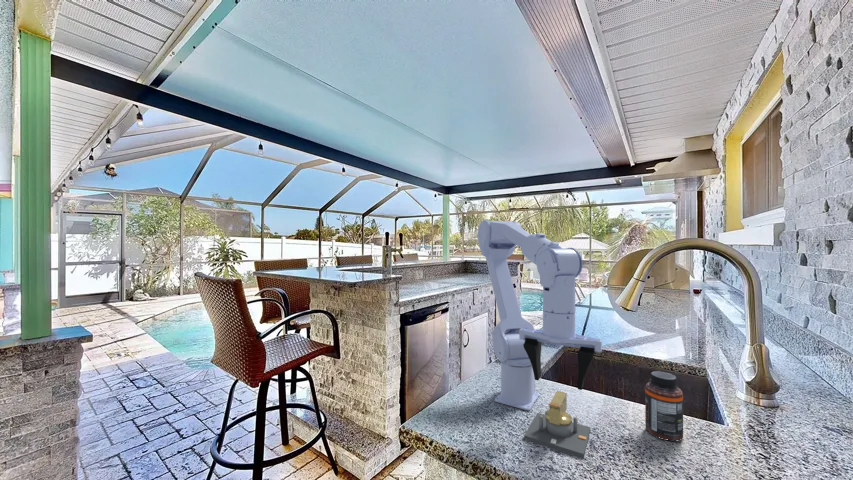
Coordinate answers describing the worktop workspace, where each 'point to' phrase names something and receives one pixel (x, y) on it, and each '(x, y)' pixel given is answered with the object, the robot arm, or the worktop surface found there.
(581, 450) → the post base
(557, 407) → the lever handle
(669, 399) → the supplement bottle
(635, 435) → the worktop surface
